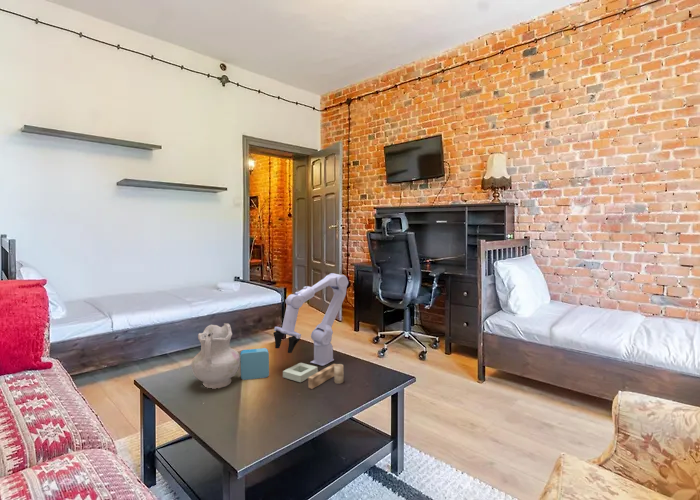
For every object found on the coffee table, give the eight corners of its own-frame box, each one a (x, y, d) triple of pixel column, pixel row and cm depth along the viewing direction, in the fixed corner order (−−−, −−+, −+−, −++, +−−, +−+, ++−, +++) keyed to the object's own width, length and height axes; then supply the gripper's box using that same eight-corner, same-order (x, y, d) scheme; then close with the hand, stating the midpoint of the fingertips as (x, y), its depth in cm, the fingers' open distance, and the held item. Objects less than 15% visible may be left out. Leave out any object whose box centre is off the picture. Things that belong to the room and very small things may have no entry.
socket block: (300, 368, 178) (300, 362, 177) (317, 373, 172) (317, 366, 172) (282, 377, 168) (282, 371, 167) (300, 382, 162) (300, 376, 162)
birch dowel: (337, 378, 166) (337, 363, 166) (345, 381, 164) (345, 365, 164) (332, 382, 163) (332, 366, 162) (340, 384, 161) (340, 368, 160)
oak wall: (333, 373, 172) (333, 363, 172) (337, 374, 171) (337, 364, 171) (308, 387, 157) (308, 377, 157) (312, 389, 156) (312, 378, 156)
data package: (268, 373, 172) (268, 347, 171) (269, 377, 168) (268, 350, 167) (240, 376, 169) (240, 350, 168) (240, 380, 165) (240, 353, 164)
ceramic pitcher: (239, 394, 154) (243, 333, 153) (187, 398, 148) (190, 334, 146) (238, 374, 174) (241, 320, 173) (192, 376, 168) (195, 320, 167)
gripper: (272, 316, 175) (265, 346, 174) (296, 324, 167) (289, 355, 166) (282, 317, 181) (276, 345, 180) (306, 324, 173) (299, 354, 172)
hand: (283, 350), depth 173 cm, fingers open, 7 cm apart
